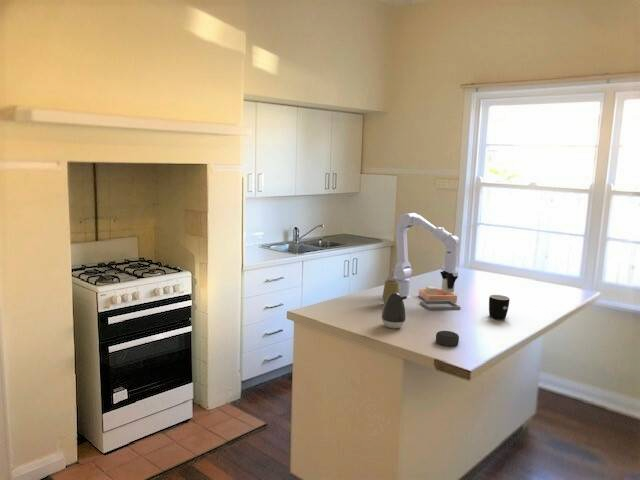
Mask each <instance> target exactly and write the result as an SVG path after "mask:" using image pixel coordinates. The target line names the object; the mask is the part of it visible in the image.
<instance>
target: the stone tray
mask: <svg viewBox="0 0 640 480" xmlns="http://www.w3.org/2000/svg"><path fill="white" fill-rule="evenodd" d="M419 304H420V305H422V306H423V307H424V308H425V309H427V310H428V311H447V310H448V311H455V310H456V311H459V310H461V306H460V305H459V304H457V303H456V302H452V301H450V300H448V301H426V300H420V301H419Z"/></svg>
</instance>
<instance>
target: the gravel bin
mask: <svg viewBox="0 0 640 480" xmlns="http://www.w3.org/2000/svg"><path fill="white" fill-rule="evenodd" d="M418 297H420V298H422V299H423V301H448V300H450V301H452V302H454V303H457V302H458V301H457V300H458V295H457V294H455V293H454V292H444V291H442V288H438V293H437V295H431V296H430V295H428V294H427V293H426V288H418Z"/></svg>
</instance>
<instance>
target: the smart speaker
mask: <svg viewBox="0 0 640 480" xmlns="http://www.w3.org/2000/svg"><path fill="white" fill-rule="evenodd" d="M435 342H436V343H437V344H439V345H441V346H443V345H444V347H455V346H456V347H457V345H458V344H459V343H460V336H459V334H458V333H456V332H454V331H450V330H439V331H438V332H436V334H435Z"/></svg>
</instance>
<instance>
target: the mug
mask: <svg viewBox="0 0 640 480" xmlns="http://www.w3.org/2000/svg"><path fill="white" fill-rule="evenodd" d="M488 297H489V298H488V314H489V317H490V318H492V319H493V320H495V321H496V320H497V321H504V320H505V319H506V317H507V315H508V311H509V308H510V307H509V306H510V301H511V300H510V299H511V298H510V297H509V296H506V295H502V294H491V295H489V296H488Z"/></svg>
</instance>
